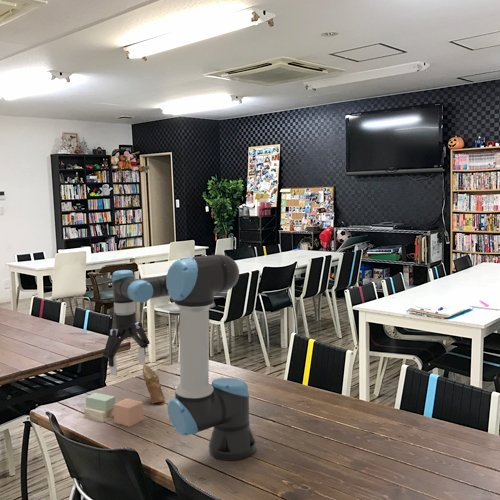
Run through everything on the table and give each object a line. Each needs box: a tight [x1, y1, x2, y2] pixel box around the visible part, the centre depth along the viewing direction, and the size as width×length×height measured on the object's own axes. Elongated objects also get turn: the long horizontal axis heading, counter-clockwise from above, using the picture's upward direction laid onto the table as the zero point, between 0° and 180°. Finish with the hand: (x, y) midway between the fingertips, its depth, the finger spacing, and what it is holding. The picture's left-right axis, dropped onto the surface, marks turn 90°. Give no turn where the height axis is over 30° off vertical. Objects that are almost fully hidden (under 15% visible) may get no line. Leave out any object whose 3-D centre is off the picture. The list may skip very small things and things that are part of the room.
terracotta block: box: [113, 397, 145, 428], centre depth 212 cm, size 7×8×7 cm
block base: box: [83, 406, 114, 423], centre depth 218 cm, size 8×10×4 cm
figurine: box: [142, 364, 166, 404], centre depth 230 cm, size 8×8×15 cm
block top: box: [85, 392, 116, 411], centre depth 217 cm, size 5×10×4 cm, turn 60°
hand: (128, 369), depth 211 cm, fingers open, 13 cm apart
